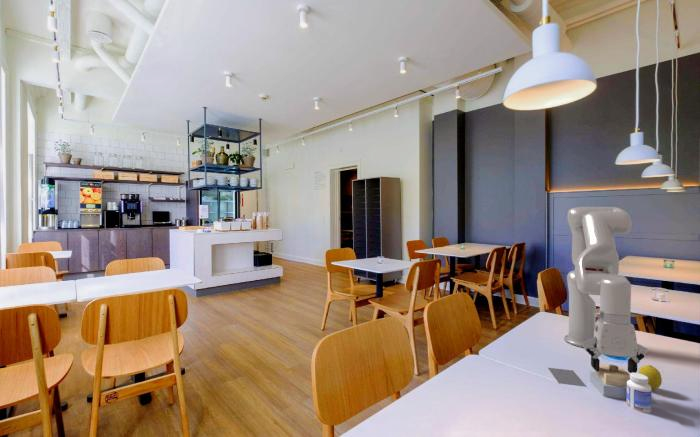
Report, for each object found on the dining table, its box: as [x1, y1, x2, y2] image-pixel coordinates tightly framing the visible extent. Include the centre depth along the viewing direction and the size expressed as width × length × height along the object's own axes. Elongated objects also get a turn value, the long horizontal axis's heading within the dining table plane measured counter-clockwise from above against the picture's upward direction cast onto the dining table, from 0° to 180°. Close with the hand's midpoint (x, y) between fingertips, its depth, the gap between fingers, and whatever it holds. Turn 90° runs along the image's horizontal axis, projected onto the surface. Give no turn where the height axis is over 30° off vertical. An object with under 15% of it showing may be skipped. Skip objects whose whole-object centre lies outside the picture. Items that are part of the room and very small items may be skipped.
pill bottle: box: [625, 372, 653, 414], centre depth 94 cm, size 5×5×10 cm
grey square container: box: [589, 371, 627, 400], centre depth 103 cm, size 9×9×4 cm
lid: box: [594, 364, 630, 387], centre depth 103 cm, size 7×7×4 cm
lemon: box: [638, 364, 663, 390], centre depth 104 cm, size 6×6×8 cm
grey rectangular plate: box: [547, 367, 587, 388], centre depth 111 cm, size 11×8×1 cm
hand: (613, 371), depth 103 cm, fingers open, 9 cm apart
